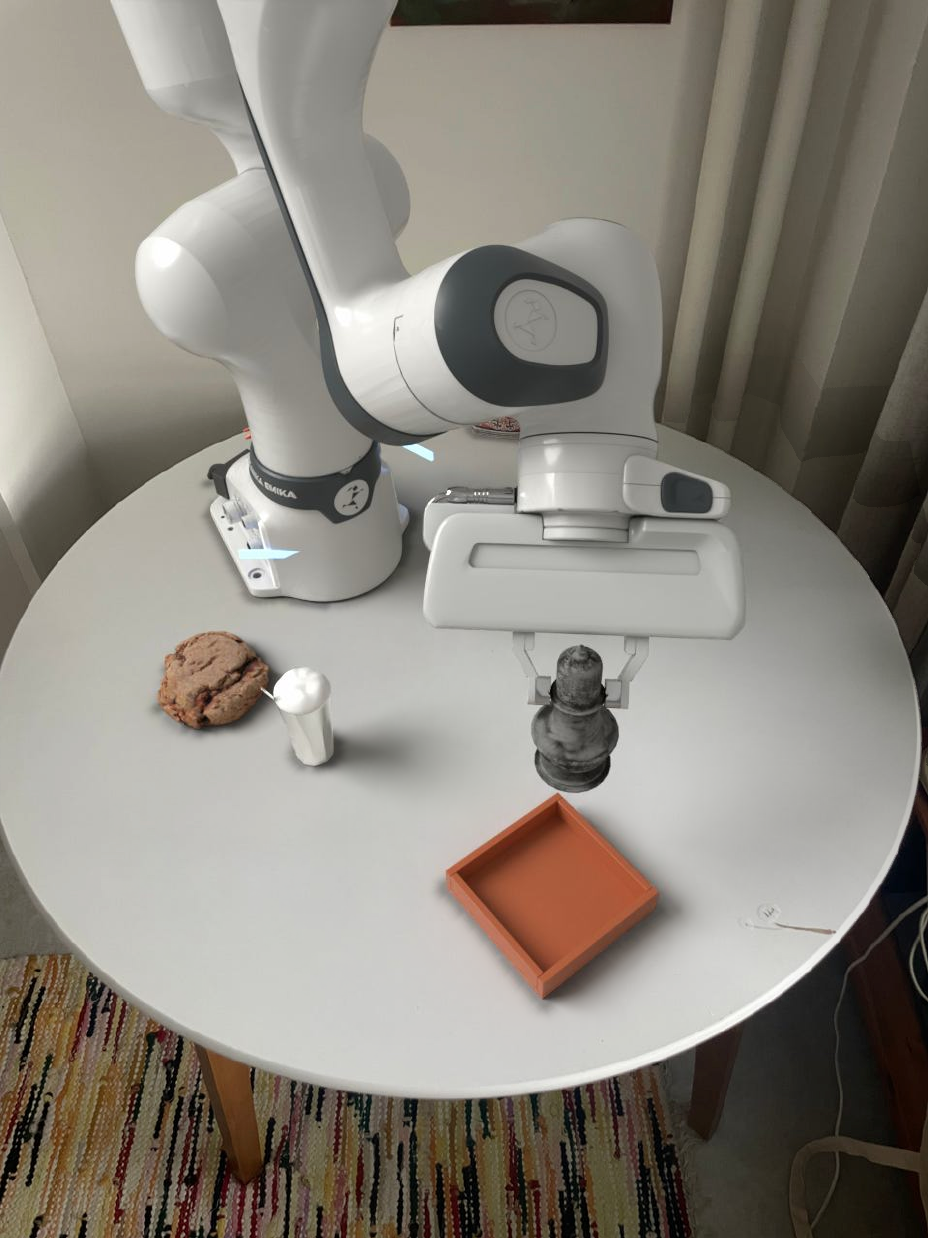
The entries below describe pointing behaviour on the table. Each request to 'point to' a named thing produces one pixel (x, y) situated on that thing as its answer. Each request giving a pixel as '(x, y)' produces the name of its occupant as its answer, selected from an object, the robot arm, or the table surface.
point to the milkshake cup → (306, 713)
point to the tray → (551, 893)
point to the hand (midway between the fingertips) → (577, 706)
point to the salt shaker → (575, 725)
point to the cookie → (211, 680)
